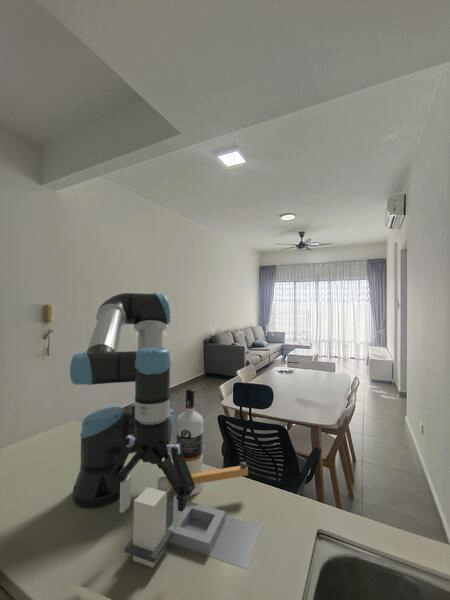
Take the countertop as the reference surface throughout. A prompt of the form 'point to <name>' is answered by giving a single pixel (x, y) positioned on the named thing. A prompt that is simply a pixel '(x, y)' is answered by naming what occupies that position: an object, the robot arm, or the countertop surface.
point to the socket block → (213, 534)
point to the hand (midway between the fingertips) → (150, 516)
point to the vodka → (191, 438)
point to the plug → (149, 527)
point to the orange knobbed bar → (209, 476)
